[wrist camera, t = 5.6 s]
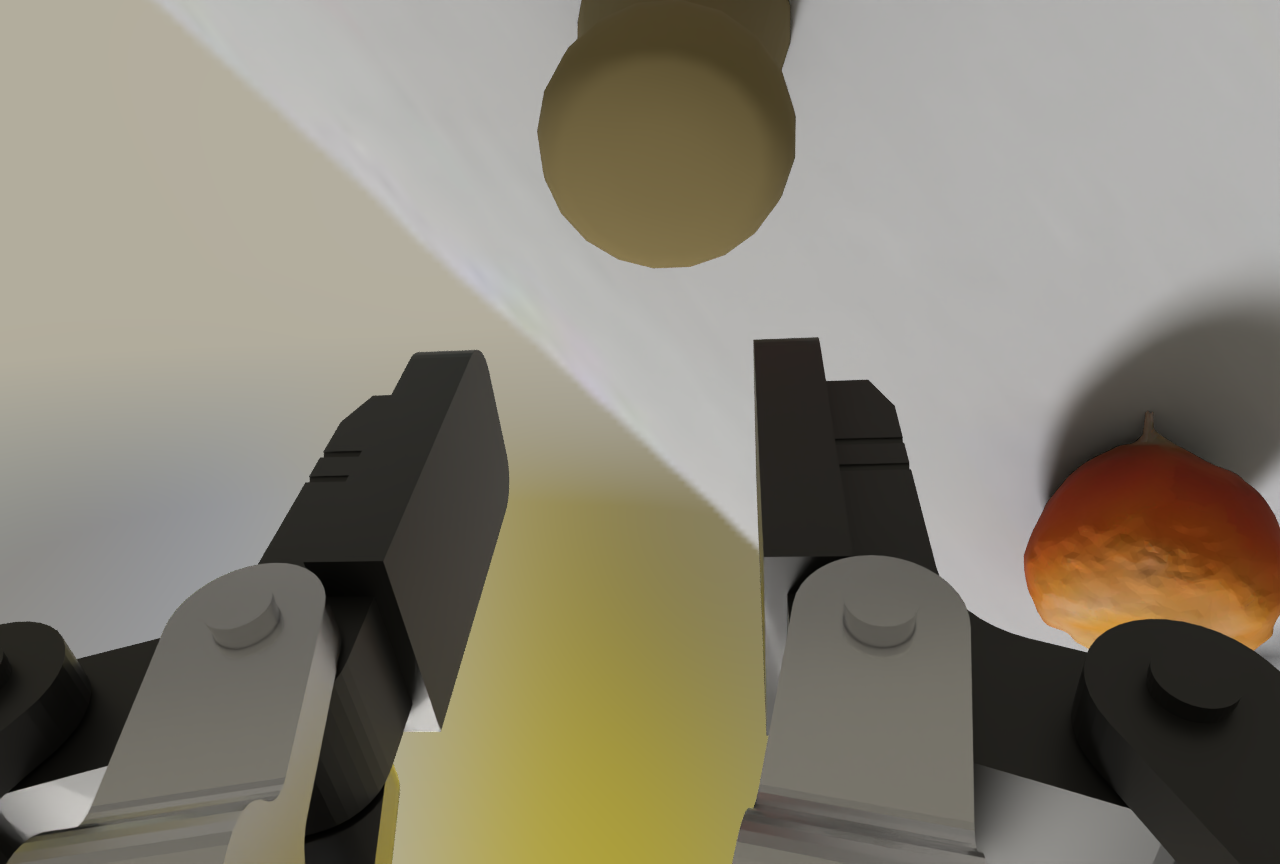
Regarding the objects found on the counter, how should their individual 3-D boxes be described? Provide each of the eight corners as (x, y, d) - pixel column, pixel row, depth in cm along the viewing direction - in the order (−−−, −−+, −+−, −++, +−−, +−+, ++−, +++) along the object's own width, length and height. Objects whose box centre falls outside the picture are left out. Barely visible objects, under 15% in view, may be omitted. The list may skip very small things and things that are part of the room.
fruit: (1353, 457, 31) (1355, 689, 28) (1153, 510, 38) (1137, 701, 35) (1169, 352, 30) (1150, 587, 26) (996, 428, 37) (963, 620, 33)
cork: (582, -100, 25) (500, -20, 16) (809, -78, 25) (856, 14, 16) (573, 127, 28) (503, 297, 19) (772, 148, 28) (794, 327, 19)
